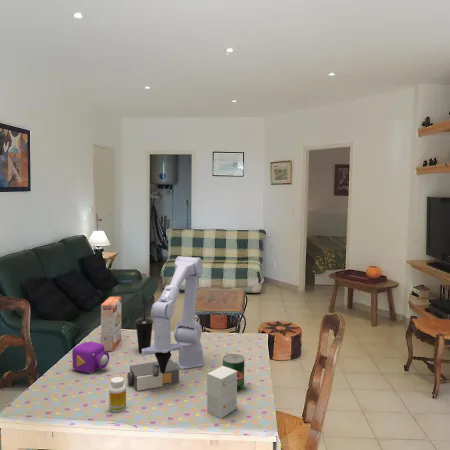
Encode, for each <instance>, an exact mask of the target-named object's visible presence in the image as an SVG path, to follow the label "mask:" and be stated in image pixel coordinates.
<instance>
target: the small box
mask: <svg viewBox="0 0 450 450" xmlns="http://www.w3.org/2000/svg"><path fill="white" fill-rule="evenodd" d="M237 397H238V392H237V371H236V370H233V369H231V368H228V367H225V366H223V365H221V366H220V367H217V368H215V369H214V370H212V371H209V372H207V373H206V412H207V413H208V414H211V415H213V416H215V417H217V418H220V419H222V418H224V417H226V416H227V415H228V414H231V413H232V412H234V411H235V410H236V409H238V408H237V407H238V405H237V403H238V399H237Z"/></svg>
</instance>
